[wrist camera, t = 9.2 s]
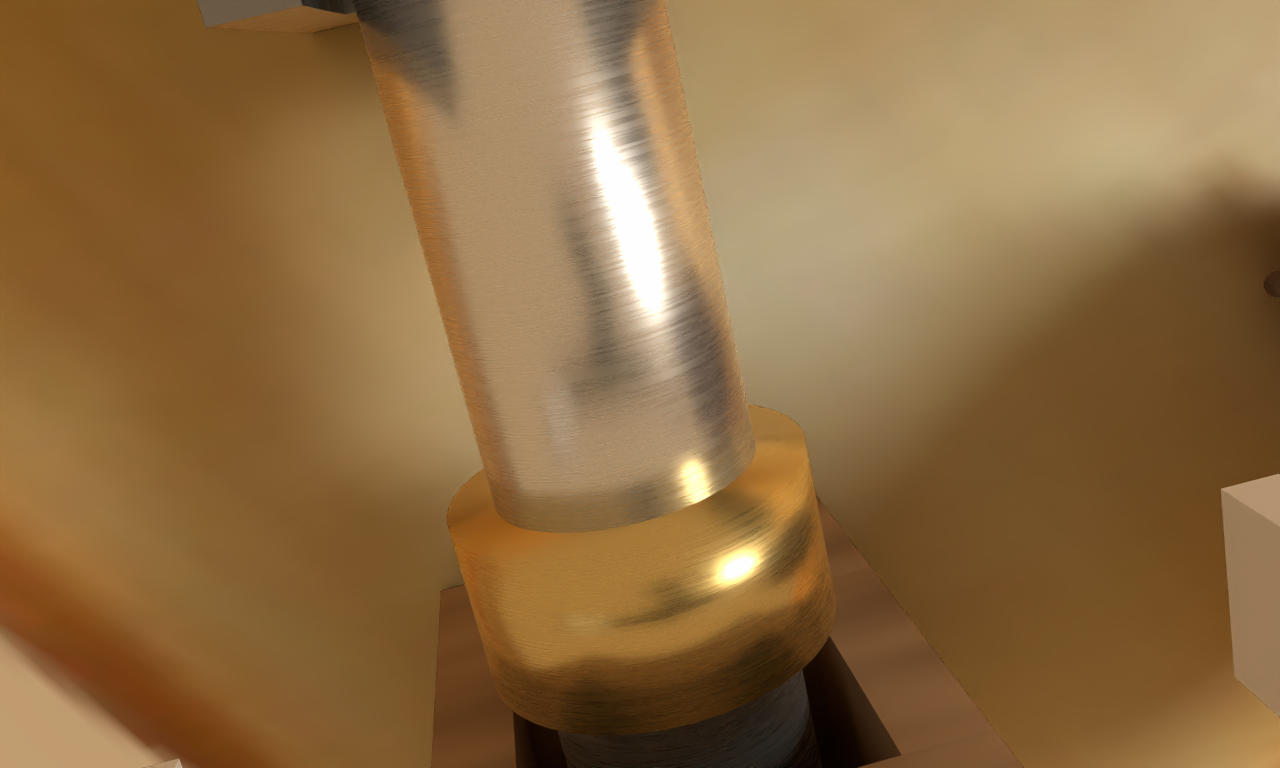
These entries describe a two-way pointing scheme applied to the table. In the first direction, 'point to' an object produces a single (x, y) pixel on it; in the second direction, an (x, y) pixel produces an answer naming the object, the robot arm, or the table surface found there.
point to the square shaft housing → (277, 14)
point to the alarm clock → (1273, 284)
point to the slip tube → (603, 389)
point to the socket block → (835, 680)
